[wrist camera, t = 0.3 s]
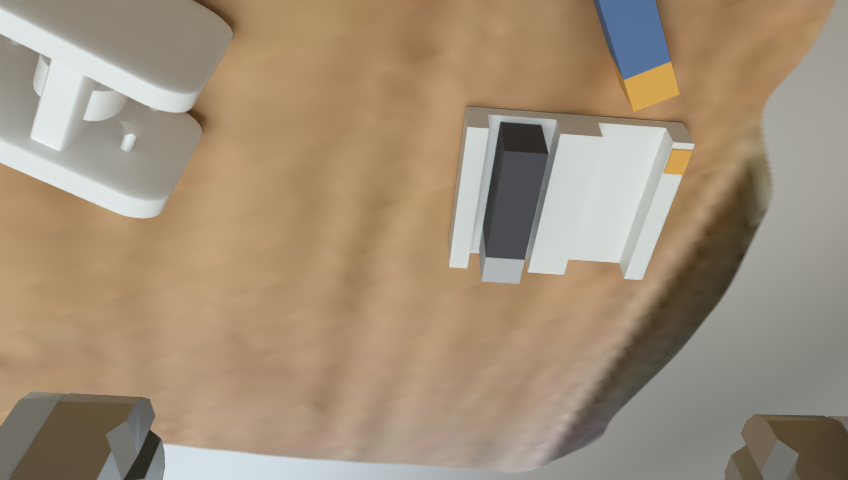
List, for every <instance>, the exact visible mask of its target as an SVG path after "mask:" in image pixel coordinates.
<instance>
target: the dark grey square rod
mask: <svg viewBox="0 0 848 480" xmlns="http://www.w3.org/2000/svg"><path fill="white" fill-rule="evenodd" d="M548 155H549V153H548V149H547V145H546V141H545V137H544V133H543V129H542V125H537V124H523V123H510V122H500V126H499V132H498V138H497V144H496V150H495V156H494V162H493V168H492V174H491V180H490V186H489V192H488V198H487V203H486V209H485V215H484V221H483V227H482V233H481V239H480V245H479V256H480V269H481V281H485V282H500V283H516V284H519V282H520V278H521V273H522V269H523V265H524V260H525V256H526V251H527V247H528V243H529V238H530V234H531V230H532V225H533V221H534V216H535V212H536V208H537V203H538V199H539V195H540V190H541V186H542V181H543V177H544V173H545V168H546V164H547V160H548Z"/></svg>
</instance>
